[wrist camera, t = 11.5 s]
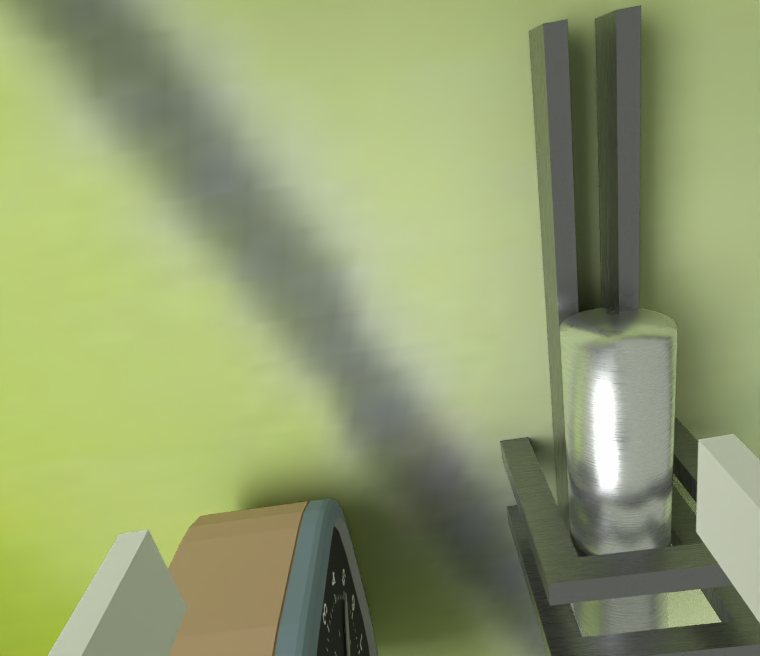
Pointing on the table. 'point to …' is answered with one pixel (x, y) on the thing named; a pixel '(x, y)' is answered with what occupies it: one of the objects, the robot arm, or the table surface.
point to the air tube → (619, 448)
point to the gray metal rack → (618, 289)
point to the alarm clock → (272, 584)
